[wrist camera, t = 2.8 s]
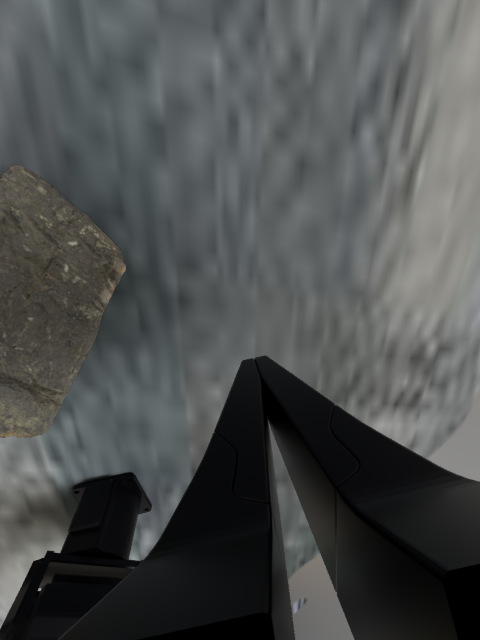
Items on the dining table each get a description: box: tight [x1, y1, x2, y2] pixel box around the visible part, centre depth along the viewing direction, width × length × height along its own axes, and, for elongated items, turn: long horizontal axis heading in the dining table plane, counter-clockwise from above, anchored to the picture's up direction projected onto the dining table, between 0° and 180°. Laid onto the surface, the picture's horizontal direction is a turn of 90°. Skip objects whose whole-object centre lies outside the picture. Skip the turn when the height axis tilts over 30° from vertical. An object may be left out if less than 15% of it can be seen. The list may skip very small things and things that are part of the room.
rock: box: [0, 165, 126, 438], centre depth 16 cm, size 17×7×10 cm
